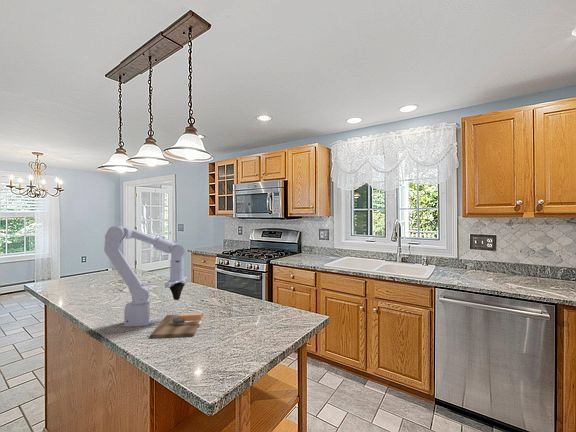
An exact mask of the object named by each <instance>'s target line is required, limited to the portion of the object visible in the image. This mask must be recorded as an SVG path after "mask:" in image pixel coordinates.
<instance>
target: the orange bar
mask: <svg viewBox="0 0 576 432" xmlns="http://www.w3.org/2000/svg"><path fill="white" fill-rule="evenodd" d="M202 314H203V313H202V312H195V313H193V312H191V313H180V315H179V314H178V315H179V316H176V317H173V322H174V323H181V322H184V321H199V320H201V321H202V318H203V316H202Z"/></svg>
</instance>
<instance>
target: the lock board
mask: <svg viewBox="0 0 576 432" xmlns="http://www.w3.org/2000/svg"><path fill="white" fill-rule="evenodd" d="M180 314H181V313H180ZM180 314H166V315H165V316H164V318H163V319H162V320H161V321H160V322H159V324H158V325H157V326H156V328H155V329H154V330H153V331H152V332H151V333H150V339H156V338H157V339H159V338H177V337H178V338H179V337H180V338H181V337H195V334H196V333H197V330H198V328H199V325H201V323H202V319H201V320H199V321H184V322H181V323H174V322H173V317H176V316H179V315H180ZM202 317H203V313H202Z"/></svg>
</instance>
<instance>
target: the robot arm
mask: <svg viewBox="0 0 576 432" xmlns="http://www.w3.org/2000/svg"><path fill="white" fill-rule="evenodd" d="M124 239H125V240H127V239H128V240H129V239H130V240H131V239H136V240H139V241H140V242H144V243H147V244H150V245H152V247H153V249H155V250H157V251H160V252H163V253H165V254H170V261H169V262H170V263H169V264H170V269H169V274H170V275H169V280H168V281H167V282H165V283H164V288H167V289H168V288H169V289H170V292H171V294H172V298H173V299H172V300H174V301H178V300H180V298H181V295H182V291H183V288H184V287H185V282H187V281H188V275H187V276H186V275H185V276H184V273H185V272H184V265H185V262H184V261H185V260H184V254H185V252H186V251H185V247H184V246H183V245H182V244H180V243H179V242H177V241H175V240H173V241H172V240H170V239H167V238H166V237H165V236H157V237H154V236H151V235H150V234H147V233H144V232H142V231H140V230H137V229H135V228H131V227H128V226H124V225H121V224H119V225H118V224H117V225H112V226H111V227H110V228H108V229H107V231H106V233H105V236H104V248H103V251H104V253H105V255H106V256H107V258H108V259H109V260H110V262H111V263H112V265H113V266H114V269H116V271H117V273H118V274H119V275H120V277H121V278H122V280H123V281H124V283H125V284H126V285H127V289H128V291H129V293H130V294H131V302H128V303H126V304H125V307H124V312H123V313H124V314H123V315H124V317H123V318H124V319H123V326H122V327H124V328H125V327H143V326H144V327H146V326H149V324H150V323H151V322H152V320H153V319H154V318H153V317H150V316H151V314H150V313H151V300H150V299H149V297H150V288H149V287H148V286H147V285H145V284H144V283H143V282H142V281H141V280H140V278H139V277H138V276H137V274H136V273H135V271H134V269H133V268H132V267H131V265H130V264H129V262H128V261H127V259H126V258H125V256H124V255H123V253H122V252H121V249H120V246H121V244H122V241H123V240H124Z"/></svg>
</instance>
